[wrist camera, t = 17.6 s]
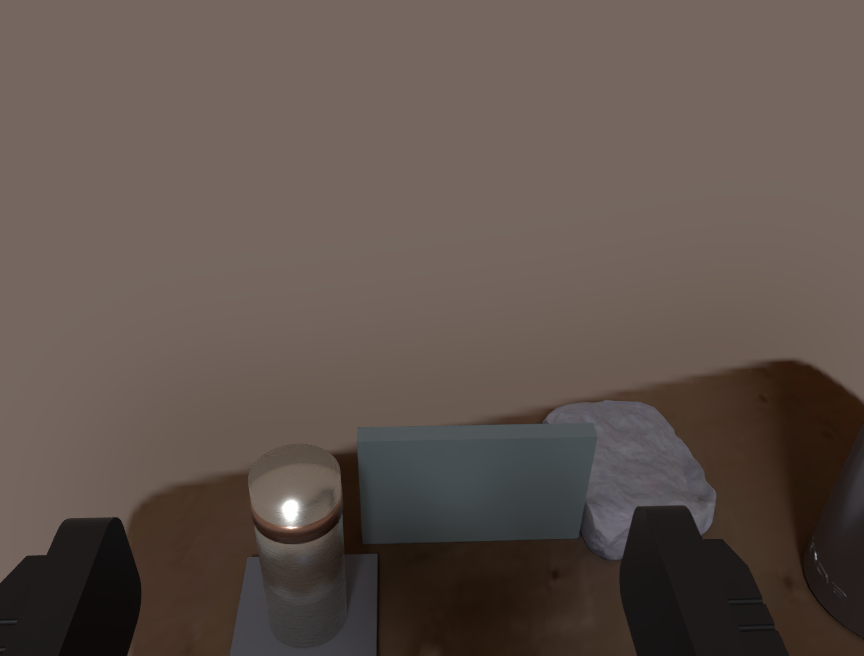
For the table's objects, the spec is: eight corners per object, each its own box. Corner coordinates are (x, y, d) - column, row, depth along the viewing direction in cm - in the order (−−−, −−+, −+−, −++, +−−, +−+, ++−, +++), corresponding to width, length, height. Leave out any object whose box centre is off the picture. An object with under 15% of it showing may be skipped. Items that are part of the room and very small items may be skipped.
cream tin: (350, 579, 46) (344, 443, 40) (345, 648, 42) (338, 510, 36) (273, 579, 46) (255, 443, 40) (261, 649, 42) (239, 510, 36)
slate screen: (574, 523, 51) (593, 422, 46) (578, 538, 50) (597, 436, 45) (362, 529, 50) (357, 427, 45) (362, 544, 49) (357, 441, 44)
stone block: (640, 440, 61) (524, 439, 58) (663, 394, 58) (543, 391, 55) (716, 565, 51) (583, 573, 48) (748, 518, 49) (609, 522, 46)
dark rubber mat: (377, 561, 48) (377, 553, 48) (376, 683, 42) (376, 675, 41) (249, 565, 48) (247, 557, 47) (227, 688, 41) (225, 680, 41)
